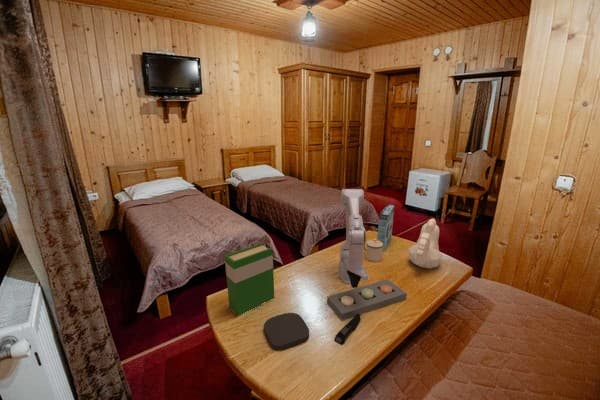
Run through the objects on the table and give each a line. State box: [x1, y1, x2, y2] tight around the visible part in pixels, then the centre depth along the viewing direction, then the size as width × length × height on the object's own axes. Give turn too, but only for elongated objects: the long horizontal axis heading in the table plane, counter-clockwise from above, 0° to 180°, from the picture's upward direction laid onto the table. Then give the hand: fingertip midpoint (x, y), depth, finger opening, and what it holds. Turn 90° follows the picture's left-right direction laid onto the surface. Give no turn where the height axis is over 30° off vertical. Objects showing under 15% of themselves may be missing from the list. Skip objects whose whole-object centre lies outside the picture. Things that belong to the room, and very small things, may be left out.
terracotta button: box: [380, 285, 392, 294], centre depth 124 cm, size 5×5×2 cm
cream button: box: [341, 296, 353, 307], centre depth 117 cm, size 5×5×2 cm
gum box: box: [376, 204, 395, 253], centre depth 170 cm, size 20×5×23 cm, turn 151°
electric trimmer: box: [333, 314, 361, 346], centre depth 105 cm, size 4×16×3 cm, turn 141°
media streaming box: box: [263, 312, 310, 351], centre depth 104 cm, size 15×15×3 cm
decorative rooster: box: [407, 218, 442, 270], centre depth 145 cm, size 25×16×25 cm, turn 133°
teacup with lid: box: [364, 238, 384, 263], centre depth 157 cm, size 12×9×12 cm
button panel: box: [326, 278, 408, 321], centre depth 121 cm, size 12×32×3 cm, turn 114°
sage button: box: [361, 288, 374, 300], centre depth 120 cm, size 5×5×2 cm
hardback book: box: [224, 242, 275, 317], centre depth 117 cm, size 18×7×24 cm, turn 130°
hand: (354, 286), depth 118 cm, fingers closed
